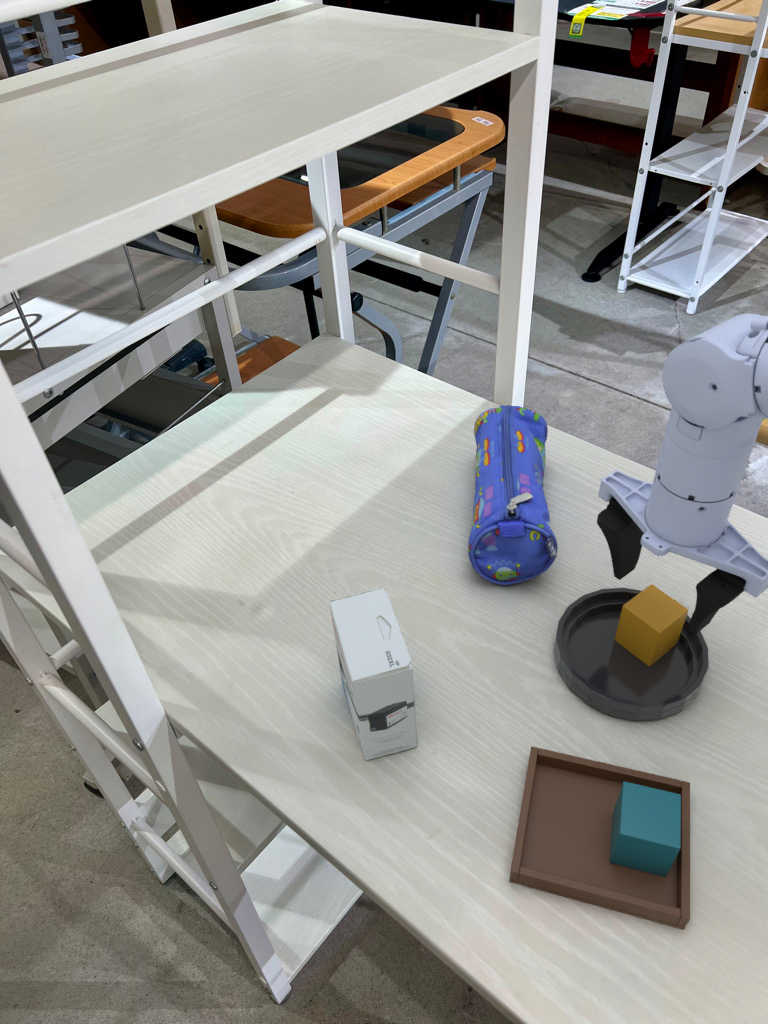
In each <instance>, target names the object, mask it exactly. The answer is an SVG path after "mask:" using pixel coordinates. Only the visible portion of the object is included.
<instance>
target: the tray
mask: <svg viewBox="0 0 768 1024" xmlns="http://www.w3.org/2000/svg"><path fill="white" fill-rule="evenodd" d="M623 781H625V782H629V783H633V784H638V785H642V786H646V787H651V788H655V789H659V790H664V791H668V792H672V793H676V794H680V795H681V839H680V850H679V852H678V854H677V856H676V858H675V860H674V862H673V864H672V866H671V868H670V870H669V872H668V874H667V876H666V877H663V876H659V875H655V874H651V873H647V872H644V871H640V870H636V869H632V868H628V867H624V866H620V865H617V864H613V863H610V862H609V859H610V846H611V832H612V819H613V811H614V808H615V805H616V802H617V799H618V796H619V793H620V790H621V787H622V784H623ZM508 882H510V883H514V884H517V885H520V886H524V887H528V888H532V889H535V890H538V891H543V892H547V893H549V894H553V895H557V896H561V897H563V898H567V899H572V900H575V901H578V902H582V903H586V904H590V905H593V906H597V907H601V908H605V909H609V910H611V911H616V912H618V913H623V914H626V915H629V916H633V917H637V918H640V919H644V920H648V921H652V922H655V923H659V924H663V925H666V926H670V927H673V928H677V929H680V930H685V929H686V927H687V926H688V924H689V922H690V920H691V782H689V781H686V780H682V779H676V778H673V777H668V776H664V775H659V774H655V773H650V772H646V771H642V770H637V769H634V768H633V769H632V768H628V767H624V766H620V765H617V764H610V763H606V762H603V761H597V760H593V759H589V758H586V757H585V758H584V757H580V756H576V755H572V754H567V753H562V752H558V751H554V750H550V749H545V748H542V747H538V746H537V747H536V746H530V752H529V758H528V764H527V771H526V775H525V783H524V788H523V793H522V800H521V805H520V812H519V817H518V824H517V830H516V835H515V842H514V849H513V854H512V860H511V867H510V873H509V880H508Z"/></svg>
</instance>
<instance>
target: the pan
mask: <svg viewBox="0 0 768 1024" xmlns="http://www.w3.org/2000/svg"><path fill="white" fill-rule="evenodd" d="M642 591H643V590H641V589H640V590H638V589H636V588H635V589H634V588H628V587H612V588H611V587H609V588H601V589H598V590H595V591H592V592H591V591H590V592H589V593H586V594H583V595H581V596H580V597H579V598H577V599H575V600H574V601H573V602H571V603H570V604H568V605H567V607H566V609H565V610H564V612H563V614H562V615H561V617H560V618H559V620H558V623H557V630H556V635H555V642H554V648H553V654H554V657H555V662H556V666H557V669H558V673H559V674H560V675H561V677H562V678H563V680H564V681H565V684H566V685H567V686H568V687H569V689H570V690H571V691H572V692H574V693H575V694H576V695H577V696H578V697H579V698H580V699H582V700H583V701H584V702H585V703H586V704H588V705H589V706H591V707H593V708H595V709H597V710H599V711H601V712H603V713H605V714H607V715H609V716H612V717H613V716H614V717H618V718H622V719H628V720H631V721H648V720H650V721H651V720H660V719H664V718H666V717H669V716H672V715H674V714H676V713H679V712H681V711H683V710H684V709H685V708H686V707H687V706H688V705H690V703H692V702H693V701H694V700H696V698H697V696H698V694H699V693H700V690H701V687H702V684H703V682H704V680H705V677H706V676H707V672H708V671H709V667H710V666H709V647H708V645H707V642H706V640H705V637H704V635H703V633H702V630H701V631H699V632H698V633H697V634H694V633H693V632H691V631H690V630H689V629H688V628H689V622H690V620H691V617H690V616H689V615H688V614H687V616H686V619H685V622H684V625H683V628H682V631H681V634H680V637H679V640H678V642H677V644H676V645H675V646H674V647H673V648H672V649H670V650H669V651H668V652H667V653H666V654H664V655H663V656H662V657H661V658H660V659H658V660H657V661H656V662H655V663H654V664H652V665H651V666H650V667H649V666H647V665H646V664H645V663H644V662H642V661H641V660H640V659H638V658H637V657H636V656H635V655H633V654H632V653H631V652H629V651H628V650H627V649H626V648H624V647H623V646H622V645H620V644H619V643H618V642H617V641H615V636H616V632H617V627H618V623H619V619H620V615H621V611H622V607H623V605H624V604H626V603H627V602H628V601H630V600H631V599H632V598H634V597H635V596H636V595H638V594H639V593H640V592H642Z"/></svg>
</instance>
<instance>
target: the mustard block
mask: <svg viewBox="0 0 768 1024" xmlns="http://www.w3.org/2000/svg"><path fill="white" fill-rule="evenodd" d="M641 591H642V592H640V593H639V594H638V595H636V596H635V597H634V598H632V599H631V600H630V601H628V602H627V603H626V604H624V605H623V607H622V611H621V615H620V619H619V623H618V627H617V632H616V636H615V641H617V642H618V643H619V644H620V645H622V646H623V647H624V648H626V649H627V650H628V651H629V652H631V653H632V654H633V655H635V656H636V657H637V658H638V659H640V660H641V661H642V662H644V663H645V664H646V665H647V666H649V667H650V666H651V665H652V664H654V663H655V662H656V661H657V660H658V659H660V658H661V657H662V656H663V655H664V654H666V653H667V652H668V651H669V650H670V649H672V648H673V647H674V646H675V645H676V644H677V642H678V640H679V637H680V634H681V631H682V628H683V625H684V622H685V619H686V616H687V615H688V613H689V608H687V607H686V606H684V605H683V604H681V603H680V602H679V601H677V600H676V599H674V598H673V597H671V596H670V595H669V594H667V593H666V592H664V591H663V590H662V589H660V588H659V587H657V586H656V585H654V584H652V583H651V584H649V585H648V586H647V587H645V588H644V589H643V590H641Z"/></svg>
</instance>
